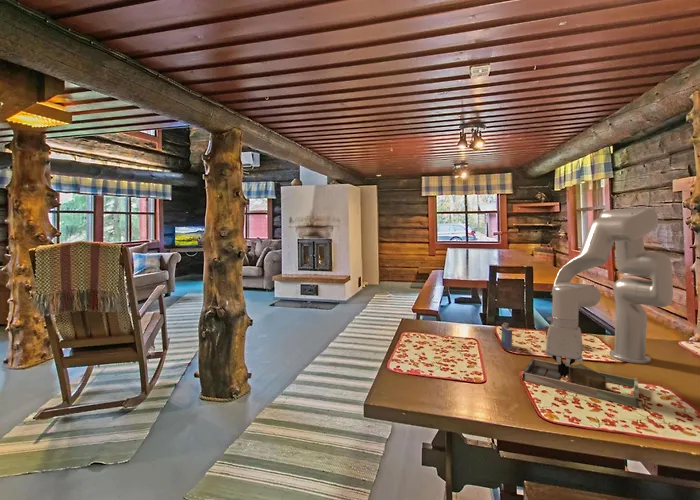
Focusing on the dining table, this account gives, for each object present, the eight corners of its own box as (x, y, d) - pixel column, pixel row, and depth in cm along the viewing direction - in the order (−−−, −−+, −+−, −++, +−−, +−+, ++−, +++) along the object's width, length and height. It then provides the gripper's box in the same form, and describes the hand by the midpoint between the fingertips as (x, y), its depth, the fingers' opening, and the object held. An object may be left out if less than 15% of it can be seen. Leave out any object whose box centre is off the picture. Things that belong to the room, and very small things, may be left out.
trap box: (532, 364, 131) (532, 357, 131) (637, 387, 112) (637, 378, 112) (522, 379, 118) (522, 371, 118) (638, 407, 99) (638, 397, 99)
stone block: (581, 376, 120) (581, 362, 120) (608, 392, 109) (608, 377, 108) (565, 377, 120) (565, 363, 119) (590, 393, 108) (591, 378, 108)
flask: (512, 350, 146) (513, 325, 145) (505, 350, 147) (505, 325, 146) (506, 343, 155) (506, 320, 155) (499, 343, 156) (499, 320, 155)
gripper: (537, 321, 118) (536, 373, 119) (590, 329, 109) (588, 385, 110) (542, 316, 124) (540, 366, 125) (592, 323, 115) (591, 377, 116)
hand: (563, 375), depth 118 cm, fingers closed
